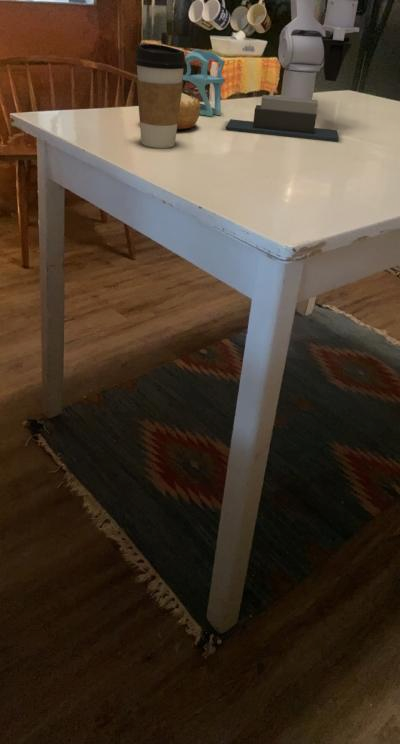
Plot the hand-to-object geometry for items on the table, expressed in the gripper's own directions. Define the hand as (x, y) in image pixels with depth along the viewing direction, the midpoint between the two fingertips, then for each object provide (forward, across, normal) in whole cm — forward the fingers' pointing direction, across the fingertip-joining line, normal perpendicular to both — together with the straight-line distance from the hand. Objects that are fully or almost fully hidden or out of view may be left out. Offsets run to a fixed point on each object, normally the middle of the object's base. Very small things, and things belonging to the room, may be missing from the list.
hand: (329, 78), depth 123 cm
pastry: (+10, -15, +30) cm, 35 cm away
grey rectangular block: (+9, -9, +8) cm, 15 cm away
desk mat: (+9, -9, +8) cm, 15 cm away
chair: (+10, +2, +26) cm, 28 cm away
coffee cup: (+10, -30, +29) cm, 43 cm away
